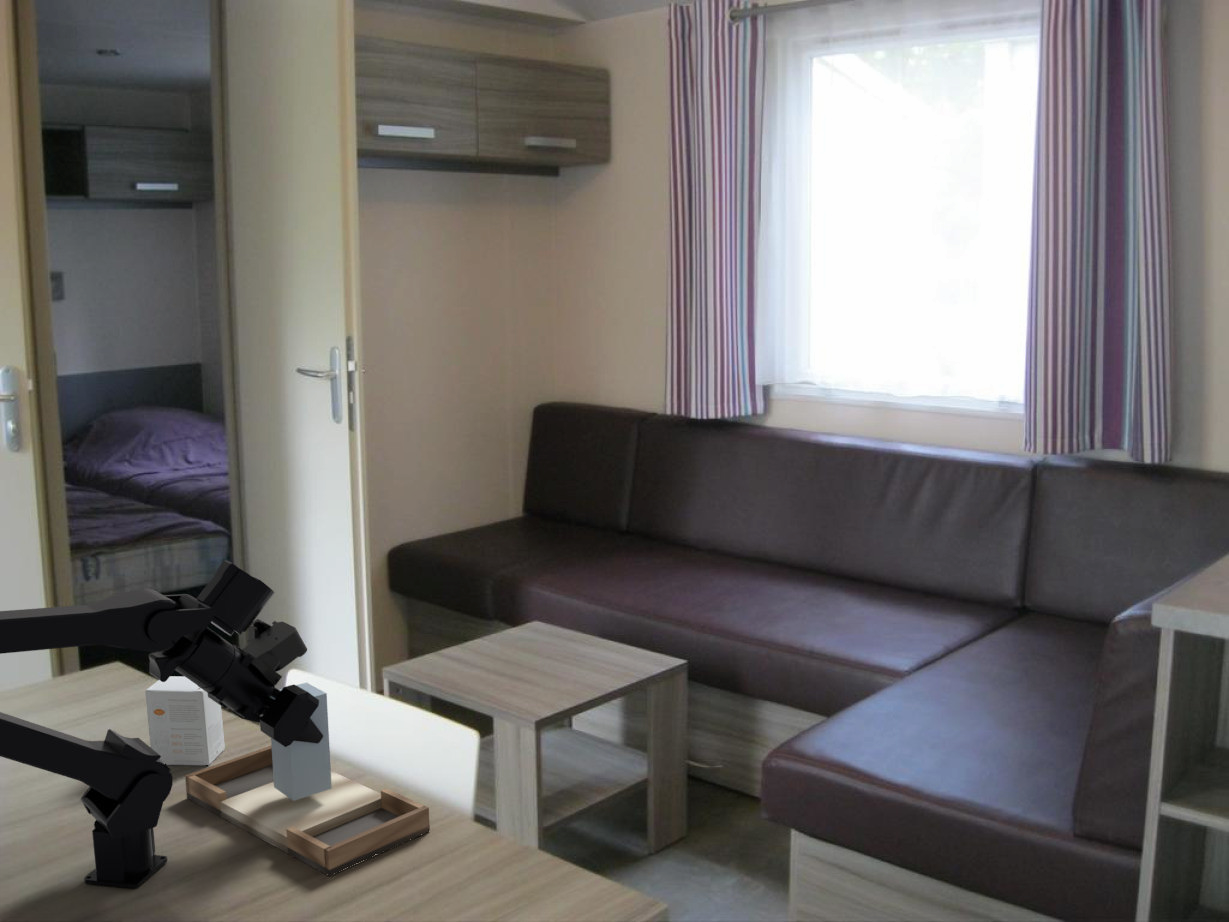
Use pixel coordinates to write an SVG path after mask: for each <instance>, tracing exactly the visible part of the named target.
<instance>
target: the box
mask: <svg viewBox="0 0 1229 922" xmlns="http://www.w3.org/2000/svg"><path fill="white" fill-rule="evenodd" d="M184 777H185V778H184V779H185V790H186V792H185V793H186V799H187V798H188V800H190V801H191V802H193V803H195V804H197V805H198V806H200V807H202V808H204V809H206V810H208V811H209V812H211V813H214V814H215V815H217V816H218V817H221V818H222V819H225V820H226V821H228V822H230V823H231V824H233V825H235V826H237V827H239V828H240V829H243V830H244V831H246V832H248V833H250V834H251V835H254V836H255V837H257V838H259V839H261V840H263V841H264V842H266V843H268V844H269V845H271V846H274V847H275V848H277V849H278V850H281V851H282V852H284V853H286V854H287V855H289V854H290V855H289V856H291V855H292V856H291V857H293V858H295V857H296V858H295V859H297V860H299V861H300V862H302V861H303V862H302V863H305V864H306V865H308V866H309V865H311V866H312V867H311V866H310V867H311V868H313V867H314V868H313V869H315V868H316V869H315V870H317V869H318V870H317V871H319V870H320V871H322V872H323V873H322V872H321V873H322V874H324V873H325V874H324V875H326V874H328V875H329V876H330V877H332V876H334V875H333V874H334V873H336V872H339V871H341V870H343V869H345V868H347V867H350V866H352V865H354V864H356V863H359V862H361V861H363V860H366V859H368V858H370V857H372V856H374V855H375V854H379V853H381V854H383V853H382V852H383V851H386V850H388V849H390V850H392V849H394V848H393V847H395V846H397V845H399V846H401V845H403V844H402V843H404V842H406V843H408V842H410V841H411V840H410V839H413V840H415V839H416V838H415V837H417V838H419V837H421V836H422V835H421V834H424V835H425V833H426V832H428V833H430V832H431V831H430V829H431V827H430V825H431V824H430V808H429V807H428V806H426V805H424V804H421V803H419V802H417V801H415V800H412V799H410V798H408V797H406V796H405V795H401V794H399V793H397V792H395V791H393V790H391V789H388V788H384V789H382V790H380V792H378V791H377V790H374V789H371V788H370V787H368V786H365V785H364V784H361V783H359V782H356V781H354V780H352V779H349V778H347V777H345V776H343V775H342V774H341V775H340V774H339V773H337V772H334V771H332V770H331V785H332V789H329V790H326V791H323V792H320V793H317V794H314V795H310V796H307V797H304V798H301V799H298V800H295V801H293V800H291V799H290V798H289V797H287V796H286V795H284V794H283V793H281V792H280V791H279V790H277V789H276V788H274V778H273V762H272V746H271V745H269V746H266V747H263V748H260V749H258V750H254V751H251V752H248V753H246V754H243V755H240V756H237V757H235V758H232V759H229V760H226V761H223V762H220V763H217V764H214V765H211V766H208V767H206V768H202V769H200V770H198V771H197V770H196V771H194V772H191V773H189V774H186V775H184ZM429 831H430V832H429ZM426 834H427V833H426ZM420 835H421V836H420ZM418 836H419V837H418ZM414 838H415V839H414ZM409 840H410V841H409ZM407 841H408V842H407ZM400 844H401V845H400ZM404 844H405V843H404ZM397 847H398V846H397ZM391 848H392V849H391ZM395 848H396V847H395ZM388 851H389V850H388ZM386 852H387V851H386ZM379 855H380V854H379ZM372 858H373V857H372ZM370 859H371V858H370ZM368 860H369V859H368ZM366 861H367V860H366ZM361 863H362V862H361ZM359 864H360V863H359ZM352 867H353V866H352ZM350 868H351V867H350ZM320 871H319V872H320ZM341 872H342V871H341ZM339 873H340V872H339ZM328 875H327V876H328ZM331 875H332V876H331ZM329 876H328V877H329Z"/></svg>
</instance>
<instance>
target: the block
mask: <svg viewBox="0 0 1229 922" xmlns="http://www.w3.org/2000/svg"><path fill="white" fill-rule="evenodd" d="M295 685H296V686H298V687H300V688H302V689H303V690H305V691H307V692H309V693H310V694H311V695H313V696H314V697H315V698H317V699H318V700H319V706H318V707H317V709H316V710H315V711H314V713H313V714H312V716H311V717H310V718H311V720H312V721H313V722H314V724H315V725H316V726H317V728H318V729H319V730H320V732H321V733H322V734H323V738H322V740H321V741H320V742H319V743H309V742H300V741H293V742H292V744H291V745H289V746H287V747H284V746H283V745H281V744H280V743H278V742H277V741H275V740H274V739H272V738H271V737H270V744H271V745H270V746H272V762H273V778H274V788H276V789H277V790H279V791H280V792H281V793H283V794H284V795H286V796H287V797H289V798H290V799H291V800H293V801H295V800H298V799H301V798H304V797H307V796H310V795H314V794H317V793H320V792H323V791H326V790H329V789H332V785H331V771H332V770H331V767H332V766H331V751H330V734H329V716H328V715H329V713H328V712H329V711H328V698H327V697H328V693H326V692H325V691H323V690H321V689H319V688H318V687H316V686H315V685H312V684H310V683H308V682H303V683H300V684H295ZM282 689H283V688H280V689H278V690H280V691H281V690H282ZM270 698H272V699H274V700H275V698H274V697H272V696H270Z"/></svg>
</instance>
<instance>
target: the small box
mask: <svg viewBox="0 0 1229 922" xmlns="http://www.w3.org/2000/svg"><path fill="white" fill-rule="evenodd" d="M144 693H145V702H146V713H147V714H146V715H147V724H148V725H147V726H148V733H149V735H148V736H149V745H150V747H151V748H152V749H153V750H154V751H156V752H157V753H158V754H159V755H160V756H161V758H160V759H159V760H160V761H162V762H163V763H164V764H166V766H206V765H208V766H210V765H211V764H212V763H213V762H214V761H215V760H216V758H218V756H219V755H220V754H221V753H222V752H223V751H224V750H225V749H226V746H225V737H224V736H225V735H224V734H225V732H224V726H223V725H224V723H223V712H222V706H220V705H219V704H217V703H216V702H215V701H213V700H212V699H210V698H209V697H208V693H207V692H206V691H204V690H203V689H201V688H200V687H198V685H196V684H195V683H193V682H192V681H191V680H189V679H188V678H186V677H185V676H183V675H182V676H175V675H174V676H172V675H170V677H169V678H168V679H167V681H165V682H161V681H160V680H159V679H157V680H156V682H154V683H153V684H151V685H150V686H149V687H148V688H147V689H145V691H144Z"/></svg>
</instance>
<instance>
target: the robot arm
mask: <svg viewBox="0 0 1229 922" xmlns="http://www.w3.org/2000/svg"><path fill="white" fill-rule="evenodd" d="M274 595H275V591H274V590H273V589H272V588H270V587H269V586H268V585H267V584H266V583H265V582H264V581H262V580H261V579H259V578H257V577H255V576H252V575H251V574H249V573H248V572H246V571H244V570H243V569H241V568H240V567H238V566H237V565H236V564H234V562H230V561H228V560H227V559H226V560H225V559H224V560H223V561H222V562H221V564H220V565H219V566H218V568H217V570H216V572H215V574H213V577H212V578H211V579H210V580H209V581H208V583H207V584H206V586H205V587H204V588H203V589H202V591H201V592H200V593H199V594H198V596H197V597H196V598H195V597H194V596H192V595H190V594H186V593H181V594H162V593H160V592H159V591H157V590H154V589H152V588H145V587H144V588H138V589H133V590H129V591H125V592H121V593H117V594H112V595H110V596H108V597H105V598H103V599H101V600H99V601H96V602H92V603H89V604H81V605H66V606H54V607H38V608H27V609H26V608H24V609H13V610H12V609H11V610H0V654H13V653H23V652H34V651H45V650H55V649H65V648H75V647H86V646H88V647H89V646H102V647H103V646H104V647H111V648H112V647H113V648H117V649H123V650H127V651H129V650H130V651H140V652H151V653H149V654H148V658H149V668H148V669H149V674H150V675H151V676H152V677H154V678H155V679H157V680H160V681H161V682H165V681H167V679H168V678H169V677H170V676H172V674H173V673H174V671H176V672H177V673H179V674H180V675H182V676H185V677H186V678H188V679H189V680H191V681H192V682H193V683H195V684H196V685H198V687H200V688H201V689H203V690H204V691H206V692H207V693H208V697H209V698H210V699H212V700H213V701H215V702H216V703H217V704H219V705H220V706H221V708H224V709H225V710H227V711H228V710H229V709H230V710H232V713H233V714H235V716H237V717H239V718H240V719H241V720H245V721H250V722H254V723H259V725H260V726H259V727H260V732H262V733H263V734H264V735H266V736H268V737H269V738H270V739H271V738H272V739H274V740H275V741H277V742H278V743H280V744H281V745H283V746H284V747H287V746H289V745H291V744H292V742H293V741H300V742H309V743H319V742H320V741H321V740H322V738H323V734H322V733H321V732H320V730H319V729H318V728H317V726H316V725H315V724H314V722H313V721H312V720H311V718H310V717H311V716H312V714H313V713H314V711H315V710H316V709H317V707H318V706H319V700H318V699H317V698H315V697H314V696H313V695H311V694H310V693H309V692H307V691H305V690H303V689H302V688H300V687H298V686H296V685H297V684H291V685H287V686H283V687H282V688H281V689H282V690H281V691H280V690H279V689H278V688H276V685H277V684H279V682H280V681H281V679H282V677H283V675H281V674H279V673H278V672H279V671H281V670H283V669H284V668H285V667H287V666H288V665H289V664H291V663H292V662H293V661H295V660H296V659H297V658H301V657H303V656H304V655H306V653H307V651H308V648H307V646H306V644H305V642H304V641H303V639H302V637H301V635H300V634H299V631H298V630H297V628H296V627H295V626H293V625H291V624H289V623H286V622H284V621H279V622H278V621H276V620H273V621H272V625H270V624H269V623H267V622H265V621H263V620H261V619H259V618H258V616H259V614H260V613H261V612H262V610H263V609H264V607H266V605H268V602H269V601H270V600H271V599H272V598H273V596H274ZM256 618H257V619H256ZM210 624H212V625H214V626H215V627H216V628H218V629H219V630H221V631H222V632H223V633H225V634H227V635H228V636H229V637H232V635H233V634H234V632H235V633H237V634H238V635H239V636H240V635H242V634H243V633H244V634H245V633H246V632H248V633H247V634H248V639H247V640H246V642H247V645H246V646H245V647H243V648H241V647H239V646H237V645H235V644H231V643H230V642H229V641H228V640H226V639H224V638H223V637H222V636H221V635H219V634H218V633H216V632H215V631H213V630H212V629H211V628H210V627H209V625H210ZM247 630H248V631H247ZM270 696H272V697H274V698H275V700H274V699H272V698H270ZM1 757H2V758H3V759H4V758H5V759H8V760H10V761H14V762H17V763H21V764H24V765H27V766H31V767H34V768H36V769H37V768H38V769H40V770H44V771H47V772H50V773H53V774H56V775H60V776H63V777H66V778H69V779H73V780H76V781H78V782H82V783H84V784H85V785H86V786H89V787H88V788H87V789H86V791H85V792H84V793H83V795H82V796H81V798H80V801H81V802H82V805H83V806H84V808H85V810H86V812H87V813H88V814H89V815H91V816H92V817H93V818H94V819H95V821H94V822H93V827H94V828H93V830H92V831H91V833H92V842H93V843H92V844H93V855H94V864H95V868H94V869H93V870H91V872H89V873H88V874H86V875H85V876H84V878H83V882H84V883H85V884H92V885H100V886H101V885H102V886H108V887H109V886H110V887H117V888H118V887H120V888H129V889H136V888H138V887H140V886H141V885H142V884H144V882H145V881H147V880H148V879H149V878H150V877H151V876H153V874H155V873H156V872H157V871H158V870H159V869H161V867H163V866H164V865H165V864H166V863H167V862H168V856H167V855H158V854H155V853H156V846H155V845H156V843H155V834H154V833H155V832H154V831H155V830H154V828H156V827H157V826H158V823H159V819H160V816H161V812H162V808H163V805H164V802H165V801H166V799H167V798H168V797H169V795H170V794H171V792H172V791H171V790H172V788H173V782H174V781H173V780H174V779H173V778H174V777H173V775H172V772H171V769H170V767H169V766H168V765H165V764H164V763H163V762H162V761H160V760H159V759H160V758H161V756H160V755H159V754H158V753H157V752H156V751H154V750H153V749H152V748H151V746H149V745H148V744H147V743H146V742H144V741H143V740H142V739H140V737H125V736H123V735H121V734H120V733H119V732H116V731H115V730H112V729H111V728H109V729H107V733H106V734H105V738H104V740H87V739H84V738H83V739H82V738H80V737H78V736H74V735H70V734H68V733H65V732H62V731H59V730H56V729H53V728H50V727H46V726H44V725H40V724H37V723H34V722H31V721H29V720H25V719H22V718H20V717H17V716H13V715H10V714H7V713H4V712H1V711H0V758H1Z"/></svg>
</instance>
